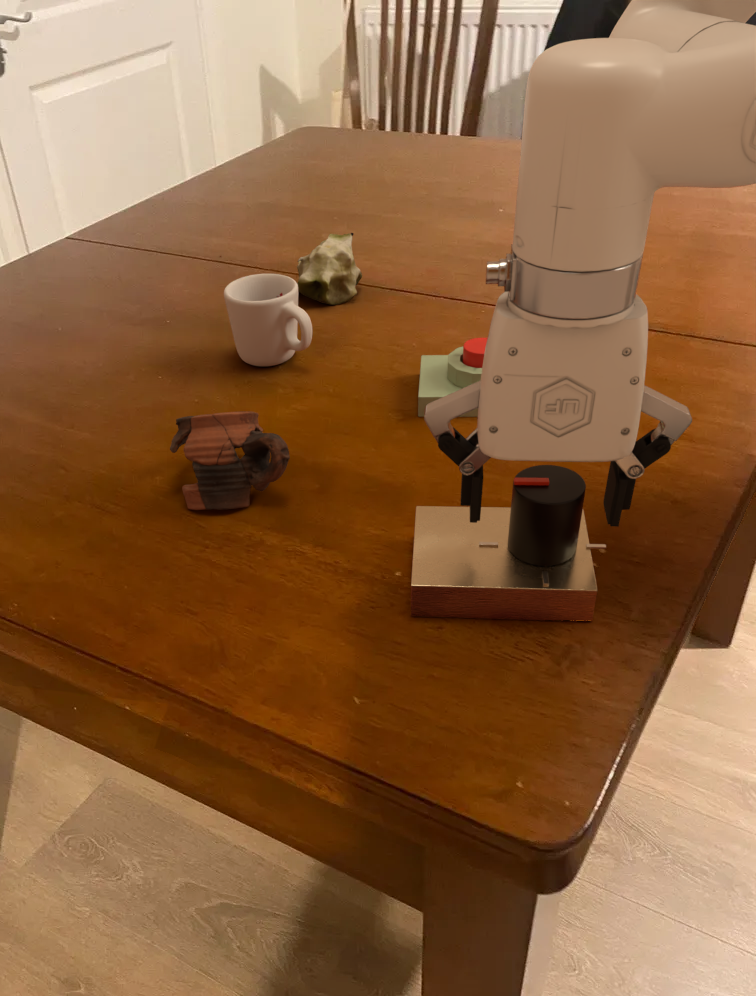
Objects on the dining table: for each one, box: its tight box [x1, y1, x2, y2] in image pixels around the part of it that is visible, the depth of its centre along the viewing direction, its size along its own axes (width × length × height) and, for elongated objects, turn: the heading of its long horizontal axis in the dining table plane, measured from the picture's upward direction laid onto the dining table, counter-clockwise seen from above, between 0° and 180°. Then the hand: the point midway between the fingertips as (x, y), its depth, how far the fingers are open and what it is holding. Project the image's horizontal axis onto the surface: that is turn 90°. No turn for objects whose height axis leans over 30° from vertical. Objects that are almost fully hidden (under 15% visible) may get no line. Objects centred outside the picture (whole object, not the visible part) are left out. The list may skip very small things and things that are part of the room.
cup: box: [223, 273, 313, 367], centre depth 99 cm, size 11×8×8 cm
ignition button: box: [463, 337, 488, 368], centre depth 90 cm, size 4×4×2 cm
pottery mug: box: [169, 410, 291, 511], centre depth 81 cm, size 12×10×8 cm
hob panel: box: [410, 505, 607, 622], centre depth 70 cm, size 14×10×3 cm
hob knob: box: [508, 464, 587, 566], centre depth 66 cm, size 5×5×6 cm
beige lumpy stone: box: [296, 232, 363, 306], centre depth 112 cm, size 9×9×8 cm
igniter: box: [417, 345, 482, 418], centre depth 91 cm, size 12×9×4 cm
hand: (541, 513), depth 66 cm, fingers open, 9 cm apart
